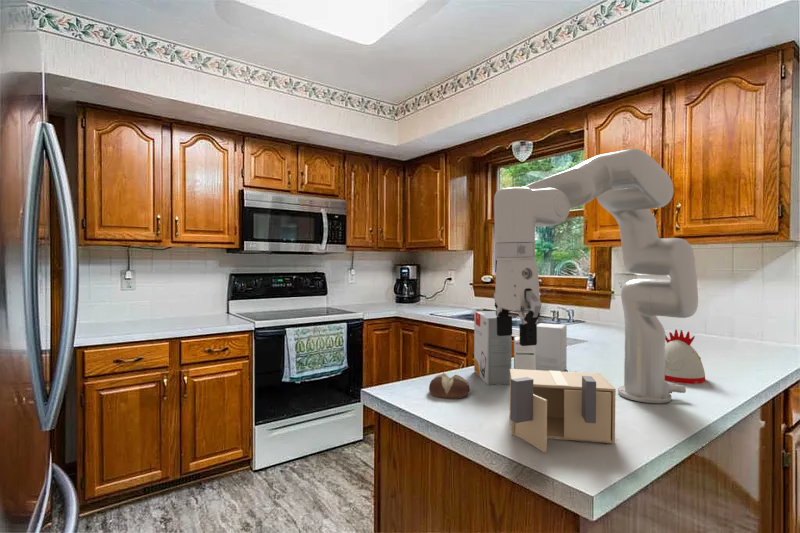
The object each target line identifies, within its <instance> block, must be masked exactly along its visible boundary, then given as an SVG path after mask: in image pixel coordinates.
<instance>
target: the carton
mask: <svg viewBox="0 0 800 533" xmlns="http://www.w3.org/2000/svg"><path fill="white" fill-rule="evenodd" d="M582 376H592V377H593V379H594V380H595V381H596V391H599V392H611V442H605V441H593V440H581V439H568V438H564V389H566V390H582ZM524 377H529V378H531V379H533V394H534V395H537V396H539V397H541V398H544V399H546V400H547V439H556V440H566V441H578V442H592V443H603V444H616V391H617V390H616V388H615V387H614V386H613V385H612V383H611V382H609V380H608V379H607V378H606V377H605V376H604V375H603V374H602V373H601V372H600V373H597V372H581V371H579V372H578V371H564V372H562V371H551V370H549V371H543V370H524V369H514V368H511V369H510V384H509V416H510V415H511V379H516V378H524ZM509 422H510V431H511V435H512V436H515V437H516V436H517V435H515V422H513V421H512V420H510V419H509ZM517 437H518V436H517Z"/></svg>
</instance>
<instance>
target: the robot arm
mask: <svg viewBox="0 0 800 533" xmlns="http://www.w3.org/2000/svg"><path fill="white" fill-rule="evenodd" d="M673 195H674V184H673V181H672V178H671V177H670V175H669V174H668V173H667V171H666V170H665V169H664V168H663V167H662V166H661V165H660V164H659V163H658V162H657V161H656V160H655V159H654V158H653V157H651V155H650V154H648V153H647V152H645V151H643V150H641V149H639V148H627V149H624V150H618V151H613V152H607V153H602V154H598V155H595V156H593V157H591V158H588V159H587V160H584V161H583V162H581V163H579V164H577V165H575V166H573V167H571V168H569V169H567V170H564V171H561V172H558V173H556V174H552V175H550V176H549V177H545V178H542V179H540V180H537V181H534V182H532V183H529V184H526V185H524V186H521V187H520V186H512V187H506V188H505V187H504V188H501V189H499V190H497V191H496V192H495V194H494V197H493V198H494V201H493V204H494V205H493V206H494V207H493V208H494V215H493V217H494V261H496V269H495V285H494V286H495V291H494V293H493V300H494V307H495V309H496V310H495V311H496V316H497V335H498V336H509V335H513V315H511V313H517V314H518V317H519V319H520V322H521V323H519V325H518V326H519V329H518V330H519V337H520V345H521V346H531V345H536V344H537V325H538V324H539V318H540V316H541V308H542V301H541V295H540V294H541V292H540V281H539V272H538V265H537V261H536V243H535V242H536V235H535V234H536V231H535V230H536V229H535V228H543V227H553V226H556V225H557V226H558V225H560V224H561V223H563V222H564V221H565V220H566V219H567V218H568V216H569V214H570V210H571V209H574V208H579V207H581V206H584V205H586V204H588V203H590V202H591V201H593V200H594V199H596V200H597V202H598V204H599V205H600V206H601V207H602V209H604V210H605V211H607V212H608V213H609V214H611V216H613V218H614V219H615V221H616V223H617V225H618V228H619V235H620V242H621V244H620V245H621V252H622V259H623V265H624V268H625V270H626V271H627V272H628V273H630V274H632V275H639V276H658V277H659V276H660V277H661V276H663V277H668V278H669V279H659V278H635V279H630V280H628V281H627V282H625V283H624V284H623V286H622V288H621V292H620V297H621V304H622V310H623V316H624V363H623V364H624V365H623V366H624V367H623V368H624V370H623V372H624V373H623V374H624V375H623V378H624V379H623V381H624V382H623V385H622V386H619V387H618V388H617V394H619V396H620V397H622V398H626V399H628V400H631V401H635V402H639V403H646V404H667V403H669V402H671V401H672V398H673V397H672V393H678V394H681V393H682V394H685V393H686V391H687V390H686V389H687V388H686V386H685V385H682V384H676V383H673V382H672V383H671V382H670V383H669V381H666V380H665V344H666V340H665V335H666V330H665V328H664V326H663V324H662V323H661V321H660V320H659V318H658V317H659V316H660V317H669V318H677V319H678V318H679V319H680V318H681V319H682V318H683V319H686V318H690V317H692V316H694V315H695V314H696V312H697V311H698V307H699V290H698V289H699V288H698V279H697V268H696V258H695V252H694V249H693V247H692V245H691V244H690V243H689V242H688V240H686V239H683V238H679V237H669V238H668V237H667V238H666V237H663V238H661V237H659V233H658V226H657V218H656V217H655V216H654V214H653V212H652V211H651V210H650V209H660V208H664V207H665V206H667V205H668V204H669V203H670V202H671V201H672V199H673Z"/></svg>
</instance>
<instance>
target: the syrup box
mask: <svg viewBox="0 0 800 533" xmlns="http://www.w3.org/2000/svg"><path fill="white" fill-rule="evenodd" d="M513 369H524V370H536V355H535V345H531V346H521V345H520V336H514V337H513Z"/></svg>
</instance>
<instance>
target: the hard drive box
mask: <svg viewBox="0 0 800 533" xmlns="http://www.w3.org/2000/svg"><path fill="white" fill-rule="evenodd" d="M473 314H474V316H473V317H474V318H473V319H474V324H473V327H474V331H473V334H474V337H473V338H474V339H473V340H474V341H473V342H474V345H473V346H474V347H473V349H474V352H473V354H474V355H473V356H474V357H473V358H474V359H473V362H474V364H473V365H474V372H475V374H476V375H477V376H478V377H480V379H481V380H482V382H484V383H485V384H486V385H487V384H488V385H487V386H494V385H493V384H507V385H508V384H509V385H510V369H512V344H513V343H512V339H513V338H512V335H513V334H512V335H509V336H498V335H497V316H496V310H479V311H478V310H475V311H474V312H473Z"/></svg>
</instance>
